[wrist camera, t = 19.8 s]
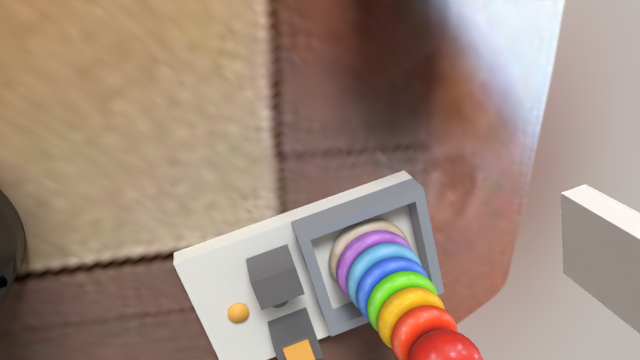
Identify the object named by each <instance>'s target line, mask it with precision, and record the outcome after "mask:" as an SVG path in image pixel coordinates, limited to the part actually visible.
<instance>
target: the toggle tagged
mask: <svg viewBox="0 0 640 360" xmlns="http://www.w3.org/2000/svg"><path fill="white" fill-rule="evenodd" d="M268 327H269V331H270V336H271V340H272V345H273V349H274V352H275V354H276V357H277V359H278V360H317V359H320V358H322V357H323V354H322V351H321V348H320V345H319V342H318V340H317V337H316V334H315V331H314V328H313V325H312V323H311V320H310V317H309V314H308V311H307V308H306V307H305V308H302V309H300V310H297V311H294V312H292V313H289V314H287V315H284V316H281V317H279V318H276V319H273V320H271V321H268Z"/></svg>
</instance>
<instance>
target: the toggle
mask: <svg viewBox="0 0 640 360" xmlns="http://www.w3.org/2000/svg"><path fill="white" fill-rule="evenodd" d="M246 263H247V268H248V273H249V278H250V283H251V286H252V288H253V291H254V293H255V296H256V298H257V301H258V303H259V306H260V308H261V311H262V310H264V309H267V308H270V307H272V306H275V305H277V304H280V303H283V302H285V301H288V300H291V299H293V298H296V297H299V296H301V295H304V294H305V293H304V290H303V287H302V284H301V281H300V278H299V275H298V273H297V270H296V267H295V264H294V261H293V259H292V256H291V253H290V250H289V248H288V245H287V244H285V245H283V246H280V247H277V248H274V249H272V250H269V251H266V252H264V253H261V254H258V255H255V256H253V257H250V258H247V259H246Z"/></svg>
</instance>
